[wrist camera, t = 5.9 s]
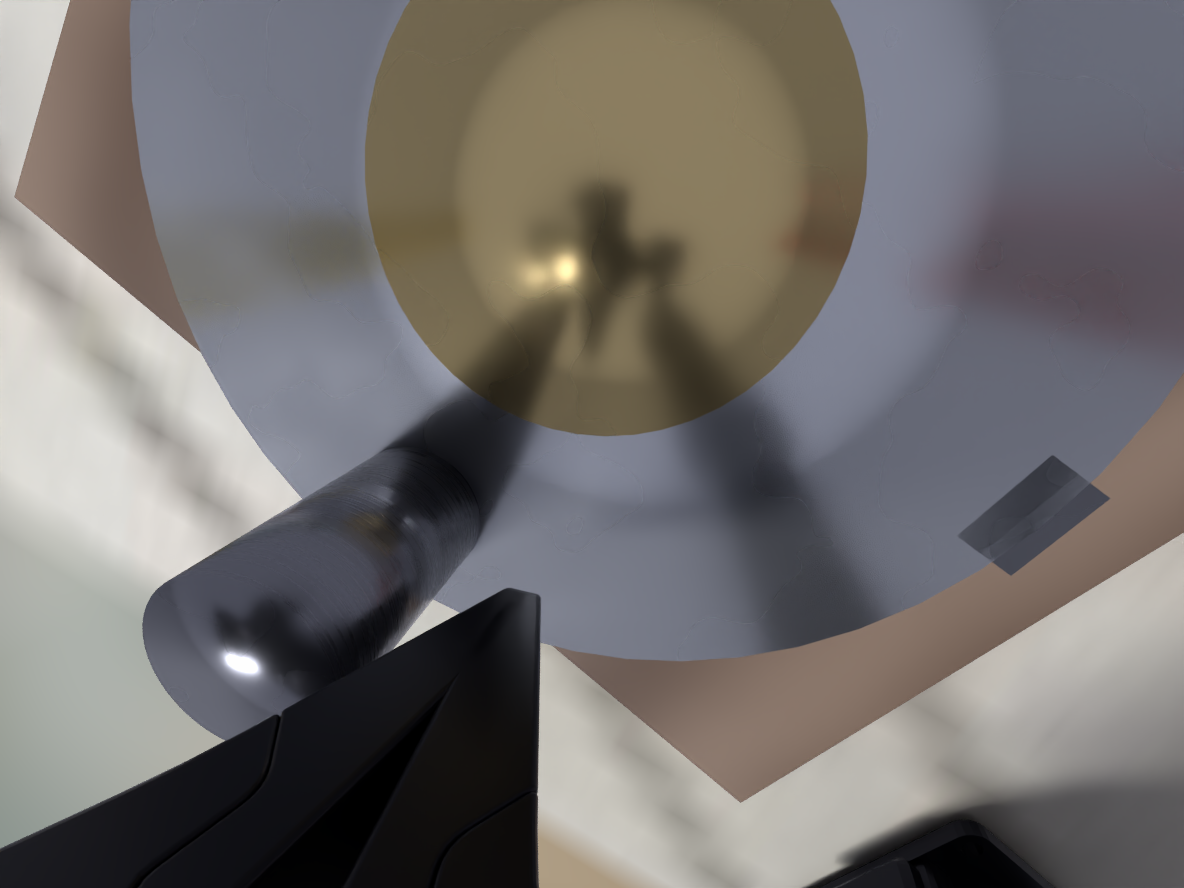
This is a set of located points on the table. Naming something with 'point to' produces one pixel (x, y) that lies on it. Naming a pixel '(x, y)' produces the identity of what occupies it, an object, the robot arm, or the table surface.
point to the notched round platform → (651, 308)
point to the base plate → (646, 687)
